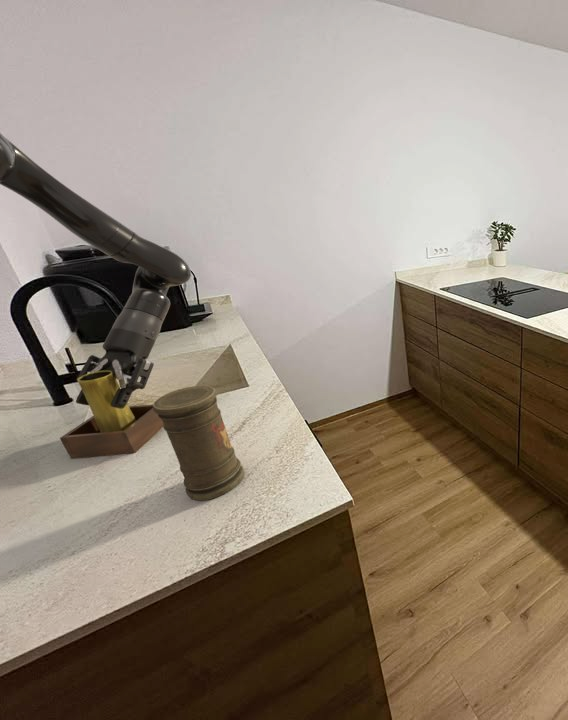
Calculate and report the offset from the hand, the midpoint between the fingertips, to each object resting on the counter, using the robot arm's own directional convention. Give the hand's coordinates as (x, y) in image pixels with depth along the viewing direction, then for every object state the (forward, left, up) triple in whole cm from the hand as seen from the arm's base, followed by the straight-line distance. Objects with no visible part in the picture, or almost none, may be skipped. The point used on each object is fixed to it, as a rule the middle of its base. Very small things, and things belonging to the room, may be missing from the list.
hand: (99, 405), depth 76 cm
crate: (0, +1, -9) cm, 9 cm away
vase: (+1, +1, -8) cm, 8 cm away
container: (+27, -17, -9) cm, 33 cm away
